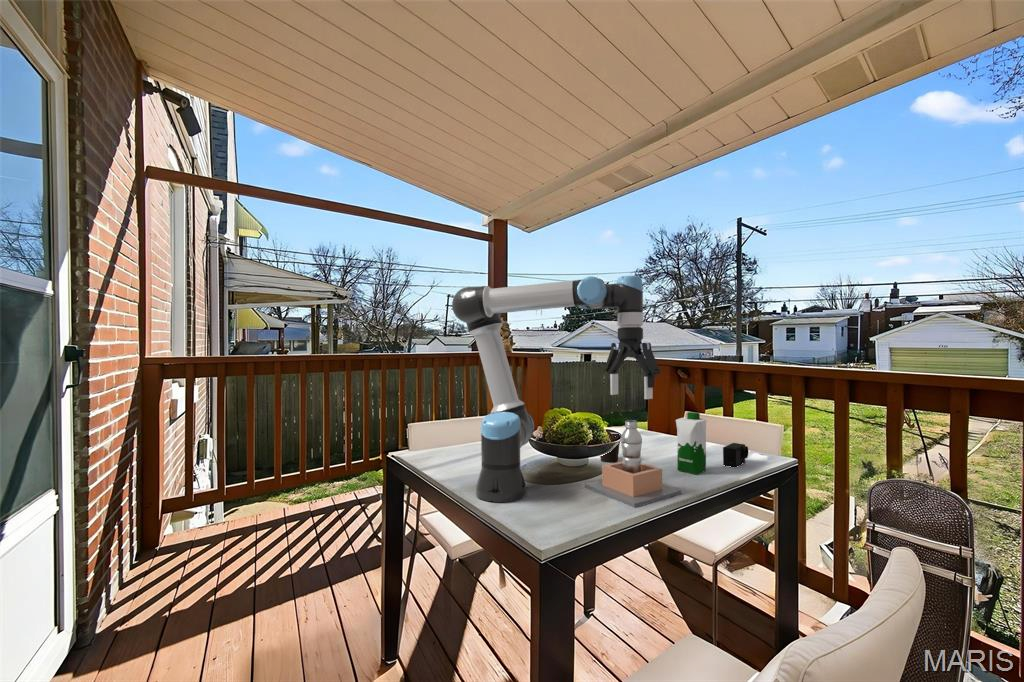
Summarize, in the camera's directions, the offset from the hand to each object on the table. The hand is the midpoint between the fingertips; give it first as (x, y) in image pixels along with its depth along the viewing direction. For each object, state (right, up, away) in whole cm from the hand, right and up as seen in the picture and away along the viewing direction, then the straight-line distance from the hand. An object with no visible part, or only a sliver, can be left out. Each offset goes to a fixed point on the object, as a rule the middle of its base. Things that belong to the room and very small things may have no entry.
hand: (630, 396), depth 130 cm
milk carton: (+27, -29, +20) cm, 44 cm away
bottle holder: (0, -28, 0) cm, 29 cm away
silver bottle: (0, -28, 0) cm, 28 cm away
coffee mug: (+2, -29, +35) cm, 45 cm away
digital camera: (+46, -29, +27) cm, 61 cm away
